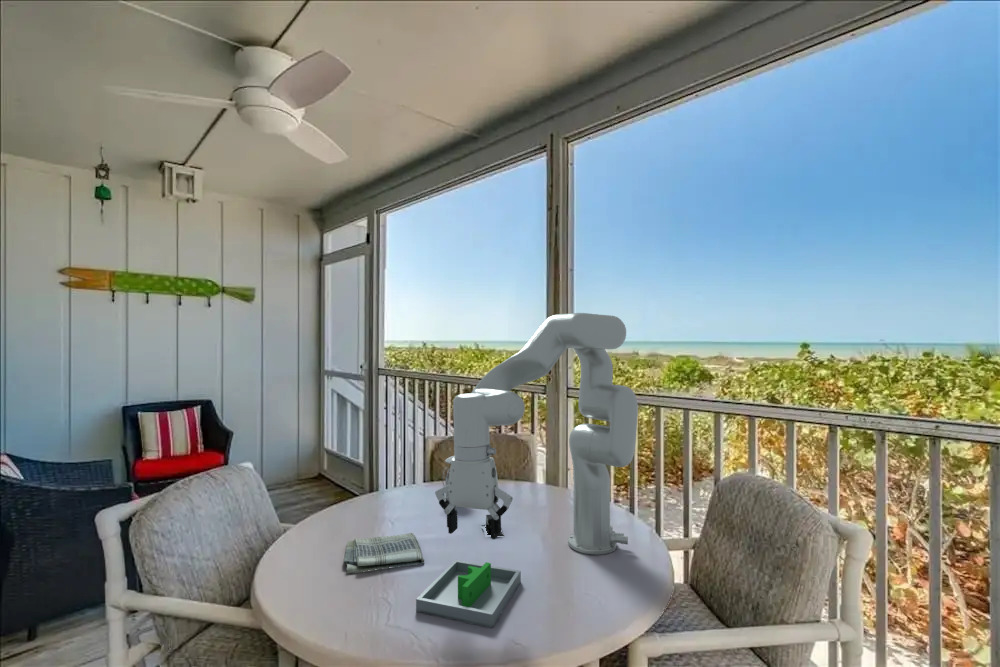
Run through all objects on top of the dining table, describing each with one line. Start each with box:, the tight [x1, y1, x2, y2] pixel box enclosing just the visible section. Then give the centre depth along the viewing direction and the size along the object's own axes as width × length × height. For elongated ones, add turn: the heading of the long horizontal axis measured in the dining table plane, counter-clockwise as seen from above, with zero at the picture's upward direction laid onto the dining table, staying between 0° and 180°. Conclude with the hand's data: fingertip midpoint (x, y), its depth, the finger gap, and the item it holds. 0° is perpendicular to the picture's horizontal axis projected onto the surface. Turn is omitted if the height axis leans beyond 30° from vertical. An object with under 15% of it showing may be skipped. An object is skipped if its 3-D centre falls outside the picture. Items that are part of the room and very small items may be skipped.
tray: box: [415, 559, 522, 629], centre depth 97 cm, size 16×18×2 cm
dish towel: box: [343, 532, 425, 575], centre depth 117 cm, size 19×18×3 cm
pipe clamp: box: [458, 562, 492, 607], centre depth 97 cm, size 11×4×5 cm, turn 157°
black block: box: [485, 514, 505, 537], centre depth 132 cm, size 12×7×5 cm, turn 10°
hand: (473, 533), depth 98 cm, fingers open, 9 cm apart
